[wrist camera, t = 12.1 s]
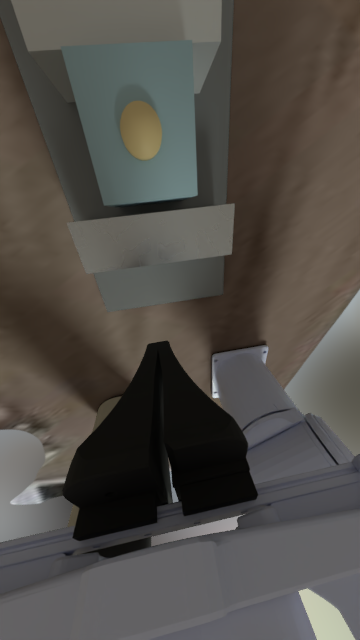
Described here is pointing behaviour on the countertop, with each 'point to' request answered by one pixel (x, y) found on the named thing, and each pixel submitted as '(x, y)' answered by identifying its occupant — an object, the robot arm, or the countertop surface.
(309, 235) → the countertop surface
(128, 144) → the housing
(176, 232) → the block
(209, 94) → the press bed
